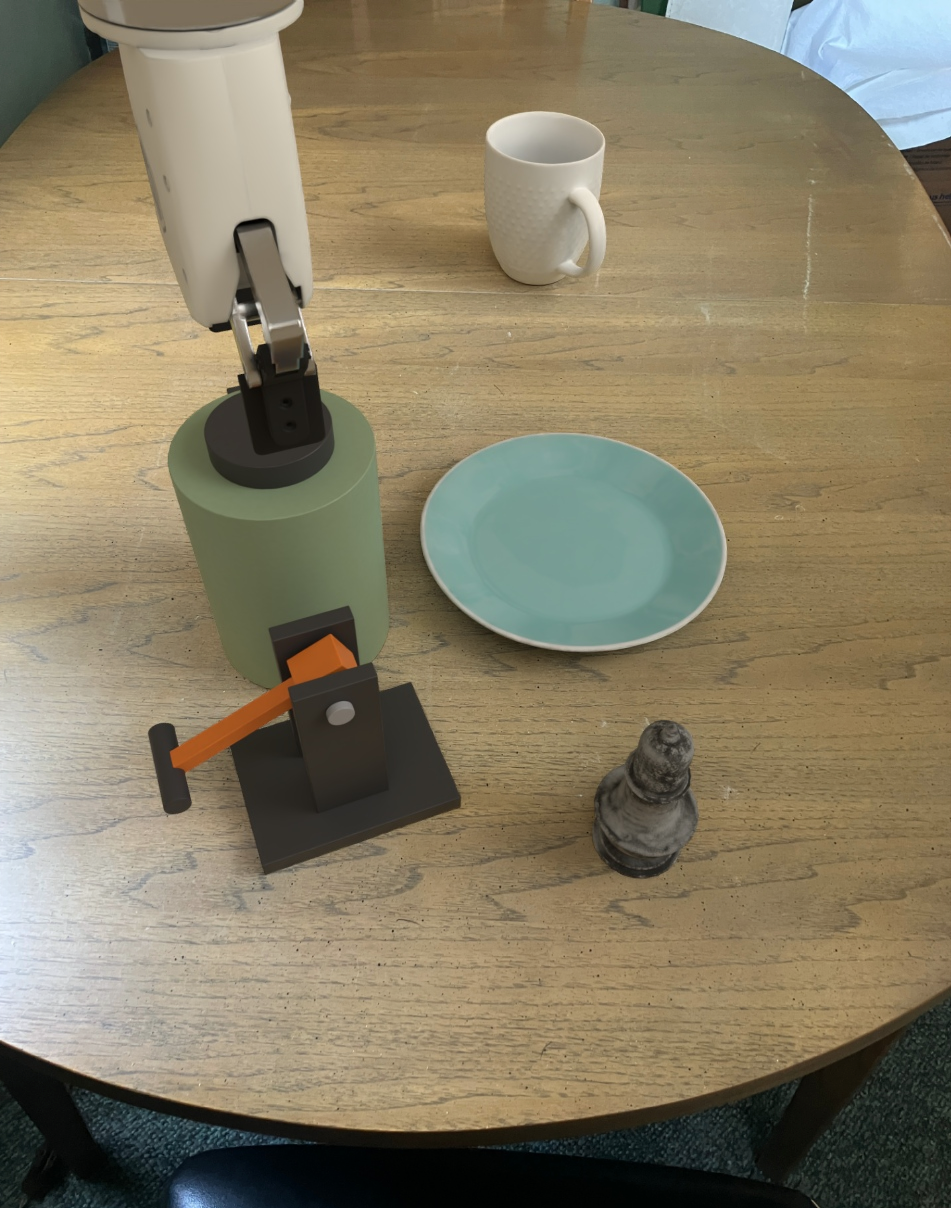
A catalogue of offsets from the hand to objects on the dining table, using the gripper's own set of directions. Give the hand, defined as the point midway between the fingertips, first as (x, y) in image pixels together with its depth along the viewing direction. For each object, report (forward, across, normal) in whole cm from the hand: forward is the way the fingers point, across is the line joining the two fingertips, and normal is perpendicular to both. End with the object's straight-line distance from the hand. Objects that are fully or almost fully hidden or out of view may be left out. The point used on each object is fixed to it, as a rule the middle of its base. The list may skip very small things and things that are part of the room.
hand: (263, 381), depth 45 cm
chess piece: (+24, +18, +14) cm, 33 cm away
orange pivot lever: (+16, +8, -4) cm, 18 cm away
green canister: (+24, -4, 0) cm, 24 cm away
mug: (+24, -40, +34) cm, 58 cm away
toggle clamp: (+24, +8, -1) cm, 25 cm away
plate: (+24, -4, +20) cm, 32 cm away
